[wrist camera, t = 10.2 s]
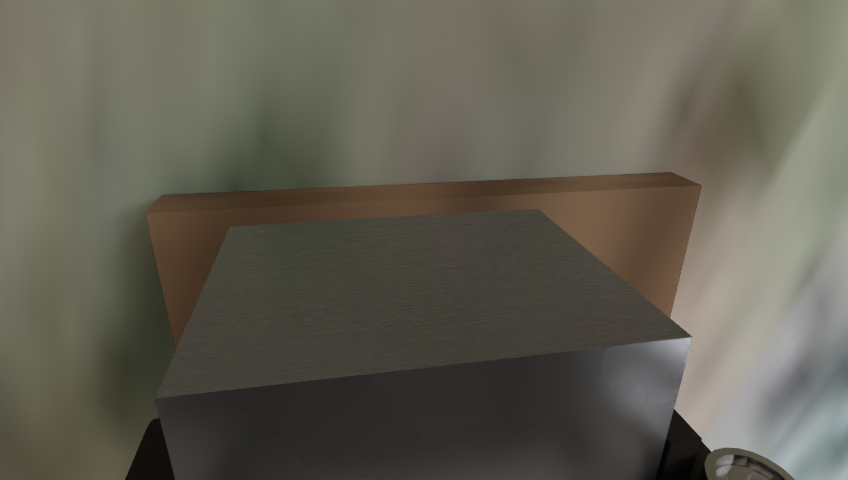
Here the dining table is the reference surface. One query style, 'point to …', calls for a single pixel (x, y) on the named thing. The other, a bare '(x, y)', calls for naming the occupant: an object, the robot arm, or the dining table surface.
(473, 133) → the dining table surface
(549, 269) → the open ended gray sleeve
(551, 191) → the board
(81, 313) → the dining table surface
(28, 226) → the dining table surface
